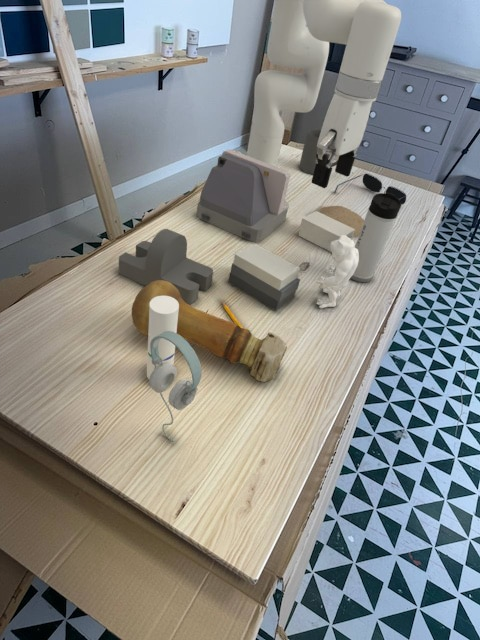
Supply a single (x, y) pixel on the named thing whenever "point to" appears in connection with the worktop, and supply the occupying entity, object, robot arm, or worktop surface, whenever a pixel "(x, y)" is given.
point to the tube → (162, 328)
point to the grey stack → (262, 288)
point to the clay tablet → (344, 217)
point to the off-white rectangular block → (323, 230)
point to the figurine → (339, 269)
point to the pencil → (231, 315)
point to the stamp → (214, 333)
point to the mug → (311, 152)
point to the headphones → (174, 373)
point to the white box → (266, 266)
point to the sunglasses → (379, 187)
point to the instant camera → (244, 196)
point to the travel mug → (375, 234)
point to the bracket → (167, 265)
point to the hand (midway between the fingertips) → (330, 179)
